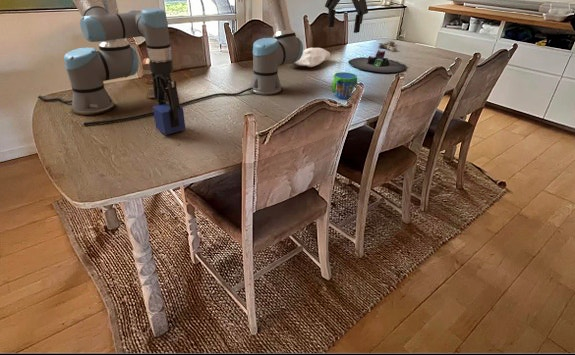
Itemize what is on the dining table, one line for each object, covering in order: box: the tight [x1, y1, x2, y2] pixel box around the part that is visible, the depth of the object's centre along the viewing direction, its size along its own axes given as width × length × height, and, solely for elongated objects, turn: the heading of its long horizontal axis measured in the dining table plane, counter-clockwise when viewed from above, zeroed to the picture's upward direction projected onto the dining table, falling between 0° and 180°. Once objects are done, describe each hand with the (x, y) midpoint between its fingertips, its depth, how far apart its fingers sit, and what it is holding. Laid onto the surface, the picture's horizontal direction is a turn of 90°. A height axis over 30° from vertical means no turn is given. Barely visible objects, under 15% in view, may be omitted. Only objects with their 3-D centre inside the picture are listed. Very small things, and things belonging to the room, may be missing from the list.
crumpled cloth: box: [290, 47, 331, 68], centre depth 217 cm, size 24×35×9 cm
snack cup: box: [330, 71, 358, 100], centre depth 171 cm, size 16×10×10 cm
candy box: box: [141, 57, 154, 99], centre depth 163 cm, size 9×4×15 cm, turn 13°
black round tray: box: [347, 49, 407, 74], centre depth 221 cm, size 35×35×9 cm
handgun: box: [378, 40, 398, 52], centre depth 263 cm, size 3×18×15 cm
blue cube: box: [152, 102, 186, 136], centre depth 133 cm, size 8×7×8 cm
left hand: (170, 122), depth 134 cm, fingers closed on blue cube, 7 cm apart
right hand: (343, 29), depth 149 cm, fingers open, 13 cm apart
